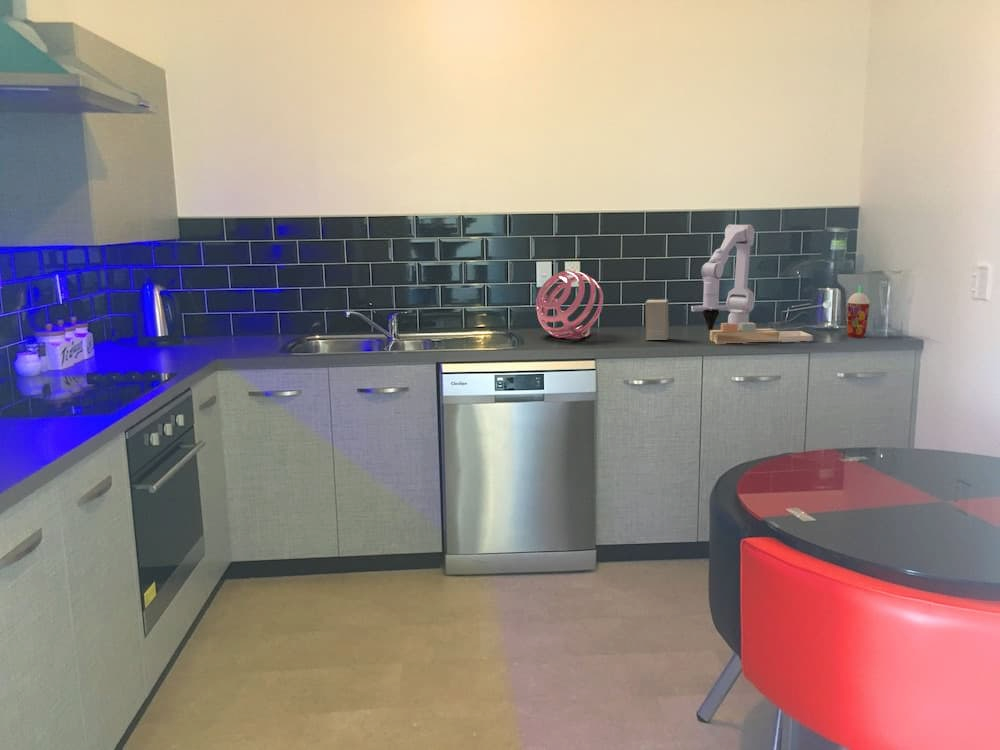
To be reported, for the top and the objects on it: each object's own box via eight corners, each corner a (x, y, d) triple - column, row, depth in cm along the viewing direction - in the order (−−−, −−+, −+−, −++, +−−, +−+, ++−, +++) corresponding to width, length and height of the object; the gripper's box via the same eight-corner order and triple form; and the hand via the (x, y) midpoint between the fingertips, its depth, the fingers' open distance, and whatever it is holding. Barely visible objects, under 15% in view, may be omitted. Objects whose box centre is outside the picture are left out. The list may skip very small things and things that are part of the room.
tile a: (720, 330, 325) (720, 323, 324) (733, 330, 325) (733, 322, 324) (724, 332, 320) (725, 324, 319) (737, 332, 320) (738, 324, 319)
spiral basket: (585, 283, 358) (550, 250, 339) (630, 304, 338) (595, 270, 319) (548, 336, 358) (511, 307, 339) (590, 361, 338) (553, 331, 319)
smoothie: (868, 335, 331) (871, 284, 327) (867, 338, 324) (871, 287, 320) (845, 334, 335) (848, 284, 331) (844, 337, 327) (847, 286, 323)
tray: (769, 338, 329) (770, 331, 329) (800, 337, 330) (801, 330, 330) (780, 342, 319) (781, 336, 318) (812, 342, 319) (813, 335, 319)
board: (709, 340, 327) (710, 330, 326) (770, 338, 328) (770, 328, 328) (717, 344, 318) (717, 333, 318) (778, 342, 320) (779, 332, 319)
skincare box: (668, 338, 332) (669, 299, 329) (666, 342, 325) (667, 301, 322) (647, 338, 335) (648, 298, 331) (644, 341, 328) (645, 300, 325)
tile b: (738, 330, 325) (738, 322, 324) (751, 329, 325) (751, 322, 325) (742, 332, 320) (743, 324, 319) (755, 331, 320) (756, 324, 320)
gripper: (695, 296, 315) (694, 331, 317) (733, 295, 315) (731, 330, 318) (690, 293, 321) (689, 328, 324) (727, 292, 322) (726, 327, 325)
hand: (709, 329), depth 322 cm, fingers closed
